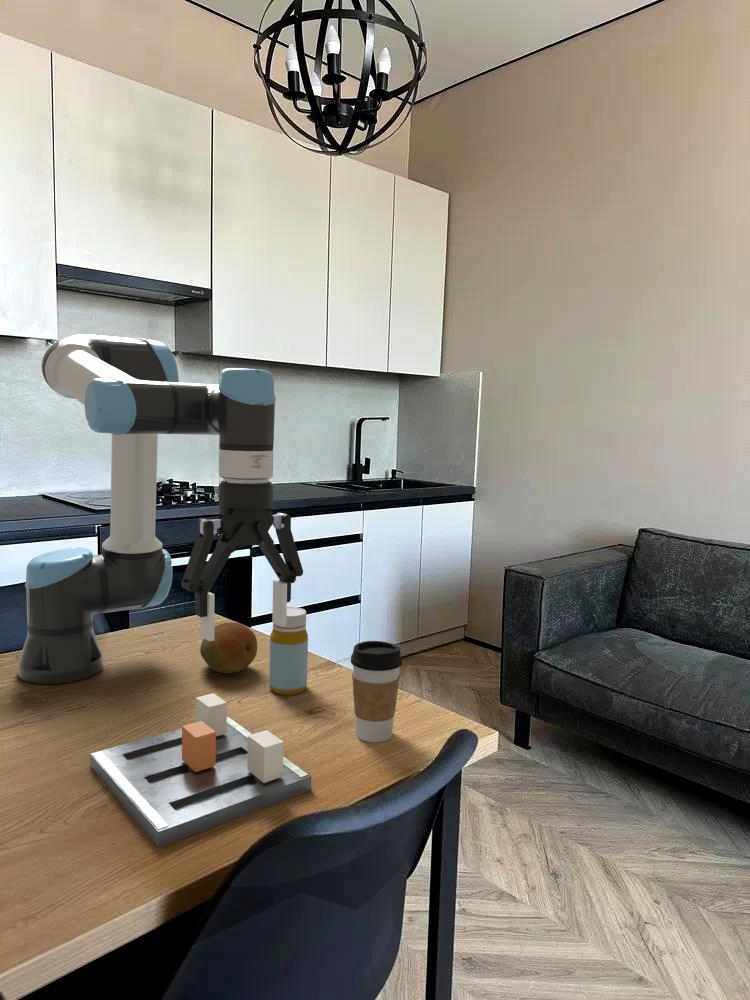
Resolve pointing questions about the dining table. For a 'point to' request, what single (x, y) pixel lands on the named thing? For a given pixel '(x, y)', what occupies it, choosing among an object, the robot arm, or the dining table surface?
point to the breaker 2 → (265, 756)
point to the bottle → (289, 654)
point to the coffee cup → (375, 688)
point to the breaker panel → (190, 784)
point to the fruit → (230, 648)
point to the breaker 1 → (212, 712)
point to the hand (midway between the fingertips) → (244, 631)
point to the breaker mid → (198, 746)
